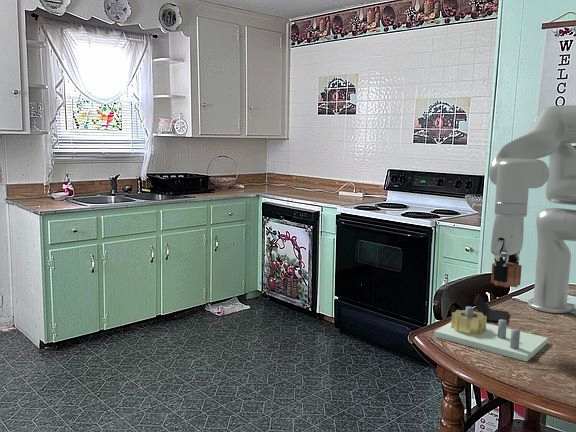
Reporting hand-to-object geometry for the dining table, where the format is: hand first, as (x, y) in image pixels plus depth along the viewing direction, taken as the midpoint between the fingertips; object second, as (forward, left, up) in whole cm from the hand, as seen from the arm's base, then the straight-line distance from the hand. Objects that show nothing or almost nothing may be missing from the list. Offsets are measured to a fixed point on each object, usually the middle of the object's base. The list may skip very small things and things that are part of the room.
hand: (505, 277), depth 138 cm
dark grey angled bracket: (-19, -10, -18) cm, 28 cm away
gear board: (0, -3, -17) cm, 18 cm away
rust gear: (0, 0, -2) cm, 2 cm away
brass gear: (0, -9, -16) cm, 18 cm away
